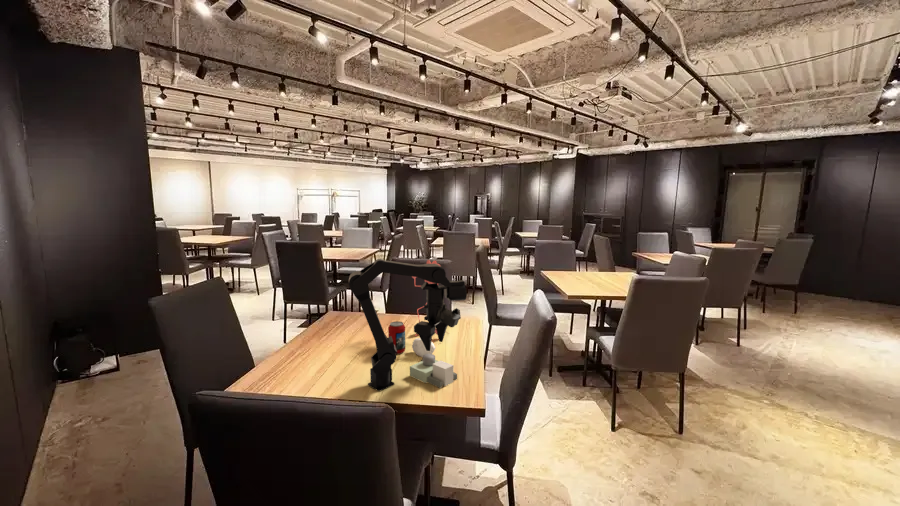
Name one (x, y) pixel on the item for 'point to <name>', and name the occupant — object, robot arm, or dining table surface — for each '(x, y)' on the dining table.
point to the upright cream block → (443, 372)
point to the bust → (421, 347)
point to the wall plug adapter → (426, 371)
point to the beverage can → (397, 335)
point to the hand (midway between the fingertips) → (434, 346)
